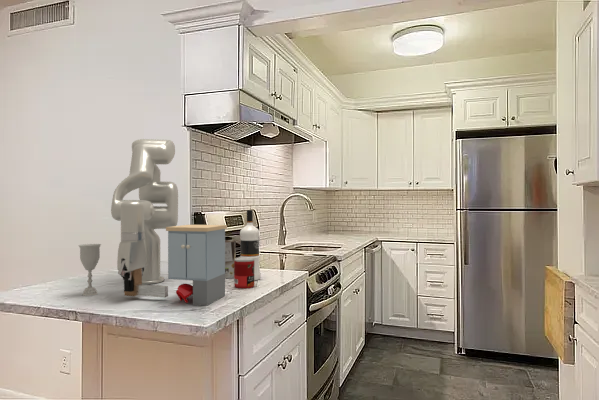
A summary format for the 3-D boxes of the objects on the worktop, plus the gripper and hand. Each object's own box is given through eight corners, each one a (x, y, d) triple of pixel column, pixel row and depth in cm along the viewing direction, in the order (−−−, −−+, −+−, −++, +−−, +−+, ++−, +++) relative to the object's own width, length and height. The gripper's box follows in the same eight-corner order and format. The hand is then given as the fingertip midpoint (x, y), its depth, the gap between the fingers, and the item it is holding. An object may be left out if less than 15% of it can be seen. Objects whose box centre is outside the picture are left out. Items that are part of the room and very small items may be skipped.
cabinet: (164, 304, 130) (164, 227, 131) (189, 293, 146) (188, 224, 146) (206, 307, 127) (206, 227, 127) (227, 295, 142) (226, 225, 142)
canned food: (250, 289, 153) (250, 260, 153) (231, 288, 154) (231, 259, 154) (257, 285, 160) (256, 257, 160) (238, 284, 162) (238, 257, 162)
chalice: (78, 297, 140) (78, 246, 140) (78, 293, 146) (78, 244, 146) (101, 295, 144) (101, 245, 144) (101, 291, 150) (101, 243, 150)
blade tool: (124, 295, 137) (124, 269, 136) (131, 292, 141) (131, 267, 140) (163, 298, 133) (163, 271, 133) (169, 295, 137) (169, 269, 137)
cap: (181, 295, 129) (196, 283, 132) (171, 286, 133) (186, 275, 136) (188, 310, 134) (203, 299, 137) (179, 302, 138) (193, 291, 141)
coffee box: (234, 278, 174) (234, 241, 174) (219, 278, 174) (219, 241, 174) (235, 274, 183) (235, 239, 183) (221, 274, 183) (221, 239, 183)
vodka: (240, 277, 176) (240, 209, 176) (261, 277, 176) (261, 209, 177) (237, 281, 167) (237, 210, 167) (259, 281, 167) (259, 210, 167)
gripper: (138, 234, 147) (138, 283, 147) (106, 239, 130) (106, 295, 131) (156, 234, 145) (156, 284, 145) (126, 240, 129) (126, 296, 129)
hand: (133, 289), depth 138 cm, fingers closed on blade tool, 4 cm apart
